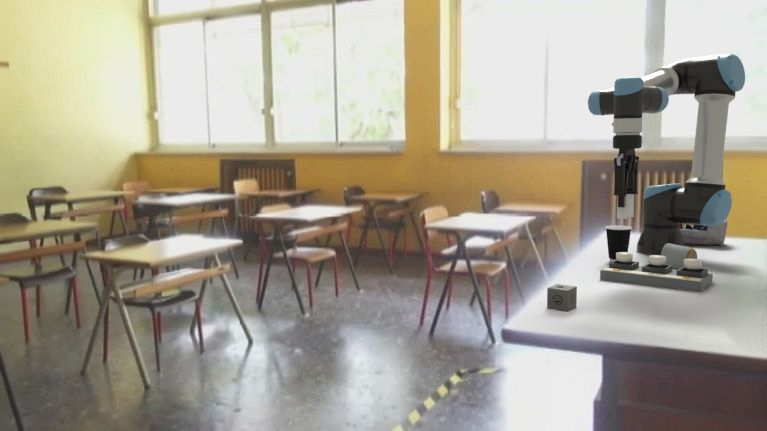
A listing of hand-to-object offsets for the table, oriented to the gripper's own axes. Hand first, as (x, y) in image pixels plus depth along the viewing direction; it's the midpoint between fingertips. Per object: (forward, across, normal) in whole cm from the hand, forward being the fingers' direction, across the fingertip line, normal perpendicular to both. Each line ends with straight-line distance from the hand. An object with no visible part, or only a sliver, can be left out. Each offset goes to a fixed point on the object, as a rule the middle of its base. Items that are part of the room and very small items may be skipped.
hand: (625, 217), depth 181 cm
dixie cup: (+17, -20, -9) cm, 28 cm away
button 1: (+12, 0, 0) cm, 12 cm away
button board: (+17, +2, +9) cm, 19 cm away
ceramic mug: (+17, -18, +10) cm, 27 cm away
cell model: (+17, -70, +2) cm, 72 cm away
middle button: (+12, 0, +9) cm, 15 cm away
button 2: (+12, 0, +18) cm, 22 cm away
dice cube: (+17, +42, 0) cm, 46 cm away
